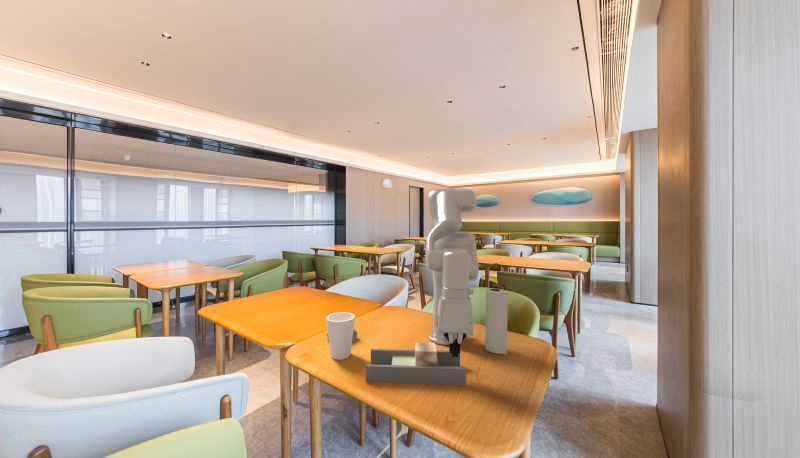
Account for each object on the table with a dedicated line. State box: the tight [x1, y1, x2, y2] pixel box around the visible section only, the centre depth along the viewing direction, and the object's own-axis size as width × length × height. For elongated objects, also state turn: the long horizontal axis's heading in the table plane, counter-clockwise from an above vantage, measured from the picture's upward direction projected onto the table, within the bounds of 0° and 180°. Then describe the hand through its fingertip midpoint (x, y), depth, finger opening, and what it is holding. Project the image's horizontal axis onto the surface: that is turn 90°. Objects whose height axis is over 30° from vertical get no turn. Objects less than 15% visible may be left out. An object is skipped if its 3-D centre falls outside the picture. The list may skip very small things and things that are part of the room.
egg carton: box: [326, 329, 359, 343], centre depth 110 cm, size 11×8×4 cm
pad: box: [392, 355, 415, 366], centre depth 87 cm, size 7×9×3 cm
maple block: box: [414, 341, 437, 366], centre depth 87 cm, size 6×6×5 cm
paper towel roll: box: [484, 287, 509, 356], centre depth 102 cm, size 7×6×21 cm
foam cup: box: [325, 311, 356, 360], centre depth 98 cm, size 10×9×13 cm
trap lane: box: [365, 348, 467, 386], centre depth 87 cm, size 28×11×4 cm, turn 88°
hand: (454, 355), depth 86 cm, fingers closed
